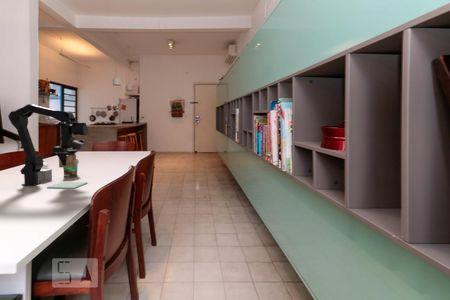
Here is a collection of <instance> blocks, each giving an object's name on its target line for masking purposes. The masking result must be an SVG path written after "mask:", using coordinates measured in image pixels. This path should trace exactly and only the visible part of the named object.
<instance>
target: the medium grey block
mask: <svg viewBox="0 0 450 300" xmlns="http://www.w3.org/2000/svg"><path fill="white" fill-rule="evenodd" d="M52 180H53V169H51V168H48V169H41V170H40V172H38V182H48V181H52Z"/></svg>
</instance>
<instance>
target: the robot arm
mask: <svg viewBox="0 0 450 300" xmlns="http://www.w3.org/2000/svg"><path fill="white" fill-rule="evenodd" d="M33 114H39V115H42V116H46V117H50V118H53V119H55V120H57V121H58V123H57V124H55V127H60V128H59V129H60V131H59V132H60V136H59V137H58V140H60V144H59V145H58V146H53V147H52V148H51V153H53V154H54V155H56V156H57V158H58V160H59V159H60V161H61V162H62V164H63V166H65V165H66V157H67V155H76V154H77V153H79V150H83V149H84V147H85V146H86V143H85V140H84V139H79V140H76V137H75V136H88V134H89V127H88V125H87V123H86V122H83V121H81V122H78V120H77V119H76V118H75V115H74V113H73V112H72V111H69V110H67V111H66V110H56V109H52V108H48V107H43V106H40V105H36V104H33V103H32V104H31V103H28V104H26V105H24V106H23V107H20V108H18V109H16V110H12V111H10V112H9V114H8V120H9V121H10V123H11V125H12V126H13V127H14V128H15V129H16V131H17V135H18V137H19V140H20V144H21V146H22V149H23V152H24V155H25V158H24V166H23V167H22V168H21V169H20V170H19V171H20V173H21V175H23V177H24V180H23V181H24V183H22V184H21V186H29V187H30V186H32V187H33V186H37V185H40V184H42V181H38V172H40V170H41V168H42V167H43V162H45V161H44V159H43V155H41V154H38V153H37V152H36V149H35V146H34V144H33V140H32V137H31V134H30V131H29V127H28V125H29V118H30V117H31V116H33Z"/></svg>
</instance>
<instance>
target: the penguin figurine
mask: <svg viewBox="0 0 450 300" xmlns="http://www.w3.org/2000/svg"><path fill="white" fill-rule="evenodd" d="M41 169H49V165H48V163H47V162H45V161H44V162H43V167H42V168H41Z"/></svg>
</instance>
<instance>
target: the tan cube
mask: <svg viewBox="0 0 450 300" xmlns="http://www.w3.org/2000/svg"><path fill="white" fill-rule="evenodd" d="M76 159H77V154H75V155H67V157H66V165H65V166H63V164H62V162H61V161H60V159H59V158H58V168H63V167H65V168H71V167H74V166H76Z"/></svg>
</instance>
